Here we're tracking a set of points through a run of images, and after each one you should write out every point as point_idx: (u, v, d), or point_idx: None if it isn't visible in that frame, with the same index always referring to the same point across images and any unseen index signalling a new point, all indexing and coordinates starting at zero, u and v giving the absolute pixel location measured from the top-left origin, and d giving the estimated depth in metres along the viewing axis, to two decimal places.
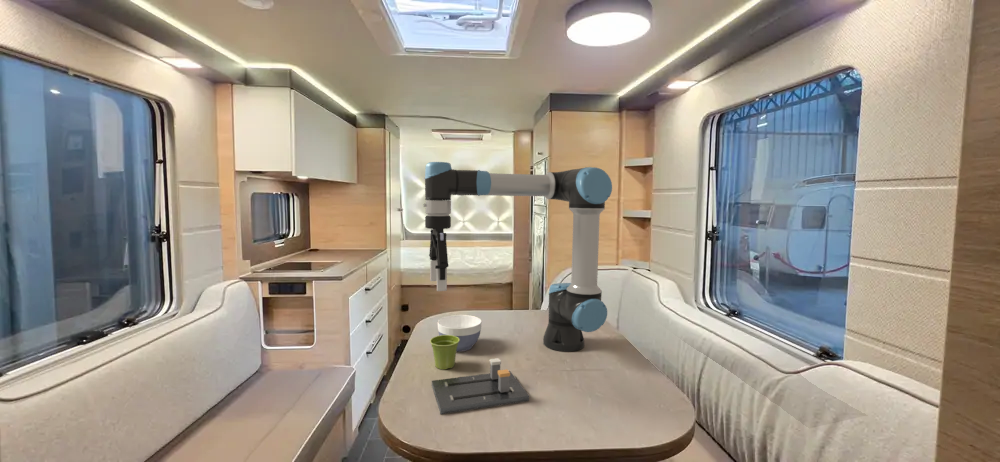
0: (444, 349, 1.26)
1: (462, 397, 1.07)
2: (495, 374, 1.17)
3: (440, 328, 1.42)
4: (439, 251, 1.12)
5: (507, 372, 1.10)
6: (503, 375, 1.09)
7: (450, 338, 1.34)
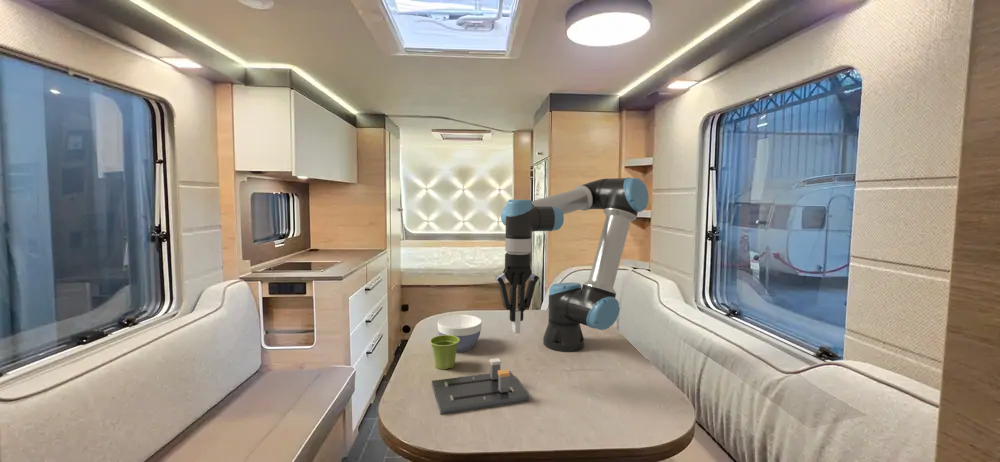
0: (444, 349, 1.26)
1: (462, 397, 1.07)
2: (495, 374, 1.17)
3: (440, 328, 1.42)
4: (501, 294, 1.17)
5: (507, 372, 1.10)
6: (503, 375, 1.09)
7: (450, 338, 1.34)
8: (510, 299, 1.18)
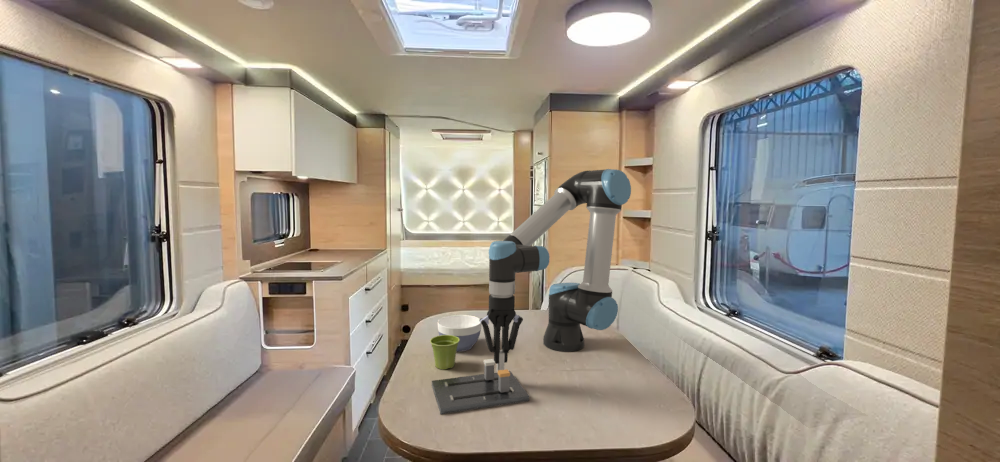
0: (444, 349, 1.26)
1: (462, 397, 1.07)
2: (489, 375, 1.16)
3: (440, 328, 1.42)
4: (485, 336, 1.17)
5: (507, 372, 1.10)
6: (503, 375, 1.09)
7: (450, 338, 1.34)
8: (494, 341, 1.17)
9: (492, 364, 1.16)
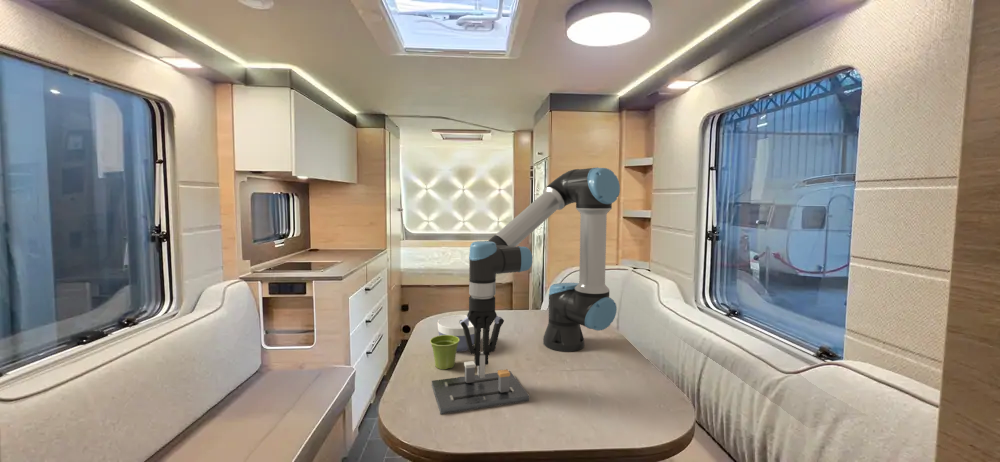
0: (444, 349, 1.26)
1: (462, 397, 1.07)
2: (470, 378, 1.15)
3: (440, 328, 1.42)
4: (465, 337, 1.15)
5: (507, 372, 1.10)
6: (503, 375, 1.09)
7: (450, 338, 1.34)
8: (474, 343, 1.15)
9: (472, 366, 1.15)
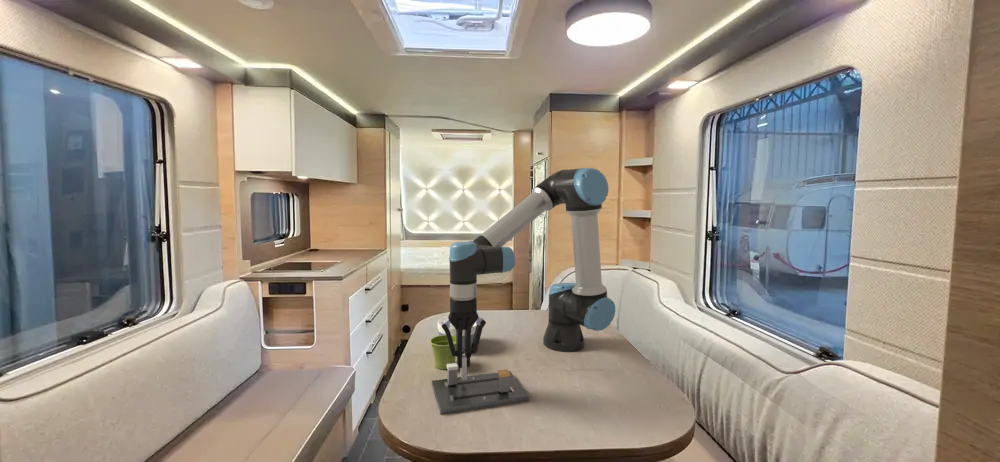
0: (444, 349, 1.26)
1: (462, 397, 1.07)
2: (452, 380, 1.13)
3: (440, 328, 1.42)
4: (447, 339, 1.14)
5: (507, 372, 1.10)
6: (503, 375, 1.09)
7: None
8: (457, 345, 1.14)
9: (455, 368, 1.13)
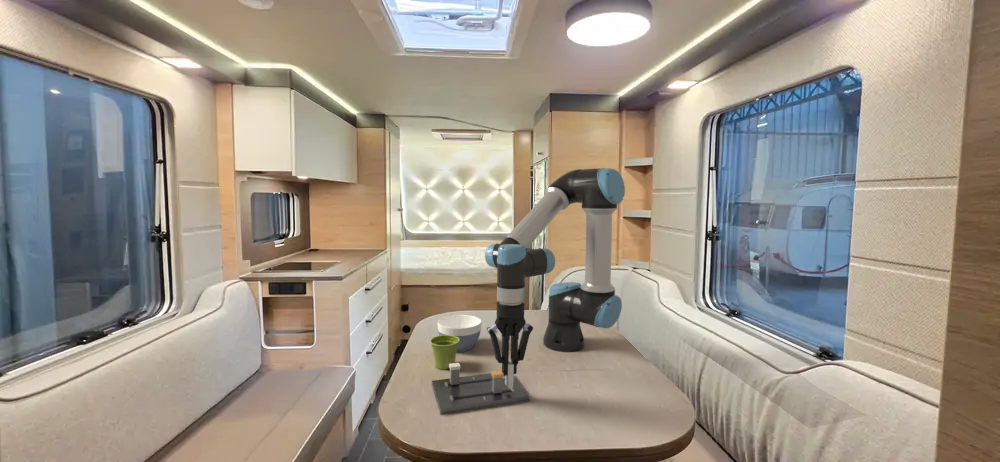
0: (444, 349, 1.26)
1: (462, 397, 1.07)
2: (454, 379, 1.13)
3: (440, 328, 1.42)
4: None
5: (501, 373, 1.09)
6: (496, 376, 1.08)
7: (450, 338, 1.34)
8: (502, 351, 1.10)
9: (457, 368, 1.13)
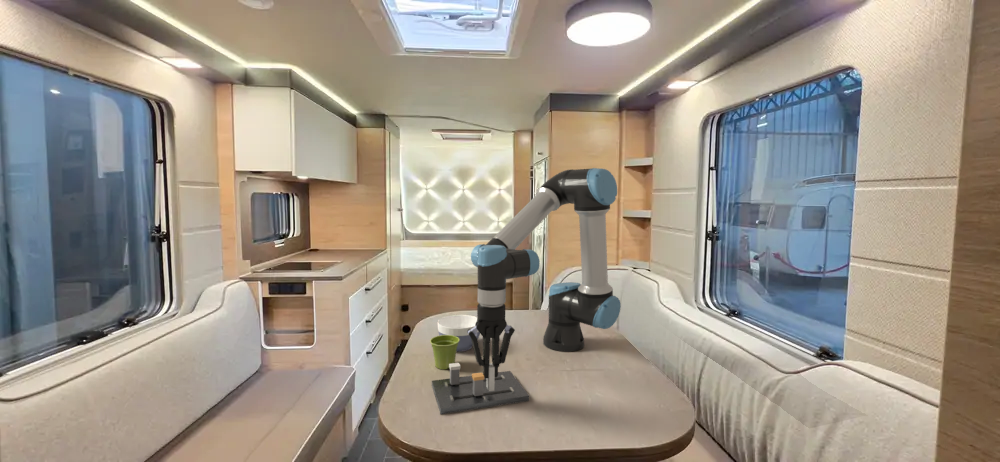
0: (444, 349, 1.26)
1: (462, 397, 1.07)
2: (454, 379, 1.13)
3: (440, 328, 1.42)
4: (473, 348, 1.08)
5: (481, 375, 1.07)
6: (477, 378, 1.07)
7: (450, 338, 1.34)
8: (483, 354, 1.08)
9: (457, 368, 1.13)
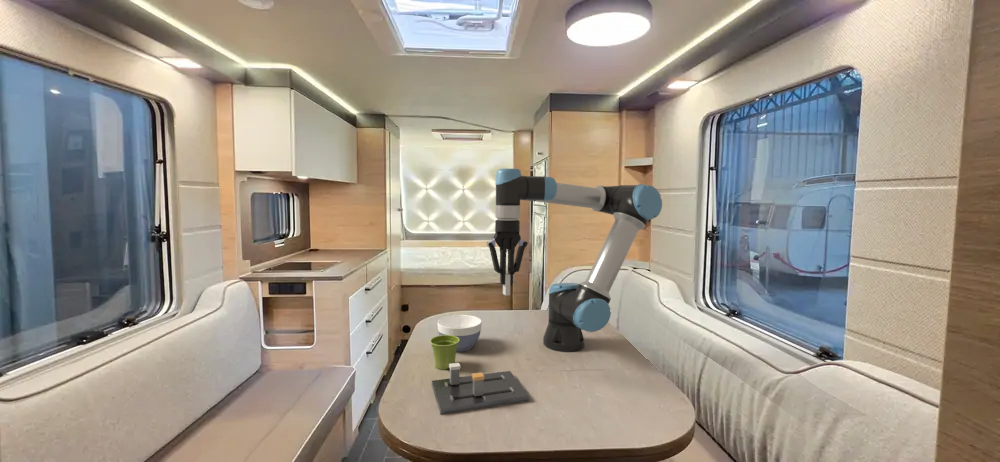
0: (444, 349, 1.26)
1: (462, 397, 1.07)
2: (454, 379, 1.13)
3: (440, 328, 1.42)
4: (492, 258, 1.25)
5: (481, 375, 1.07)
6: (477, 378, 1.07)
7: (450, 338, 1.34)
8: (500, 263, 1.25)
9: (457, 368, 1.13)
